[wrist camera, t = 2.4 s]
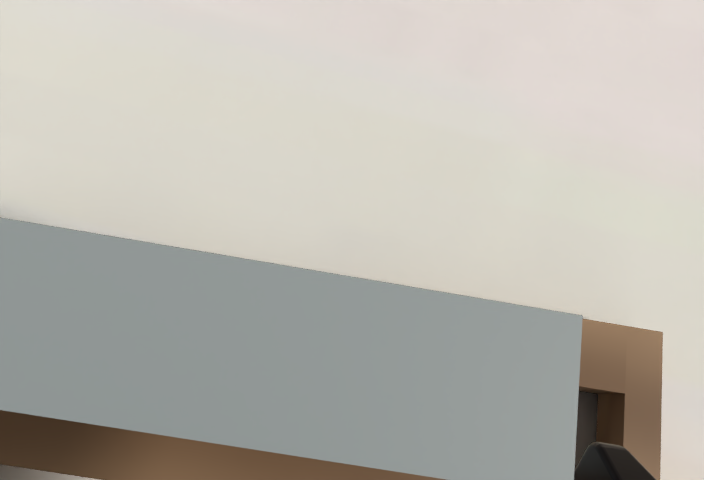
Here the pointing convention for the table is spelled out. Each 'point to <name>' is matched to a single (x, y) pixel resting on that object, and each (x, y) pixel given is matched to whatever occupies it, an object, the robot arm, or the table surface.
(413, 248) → the table surface
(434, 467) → the tall grey pillar
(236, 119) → the table surface
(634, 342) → the frame
